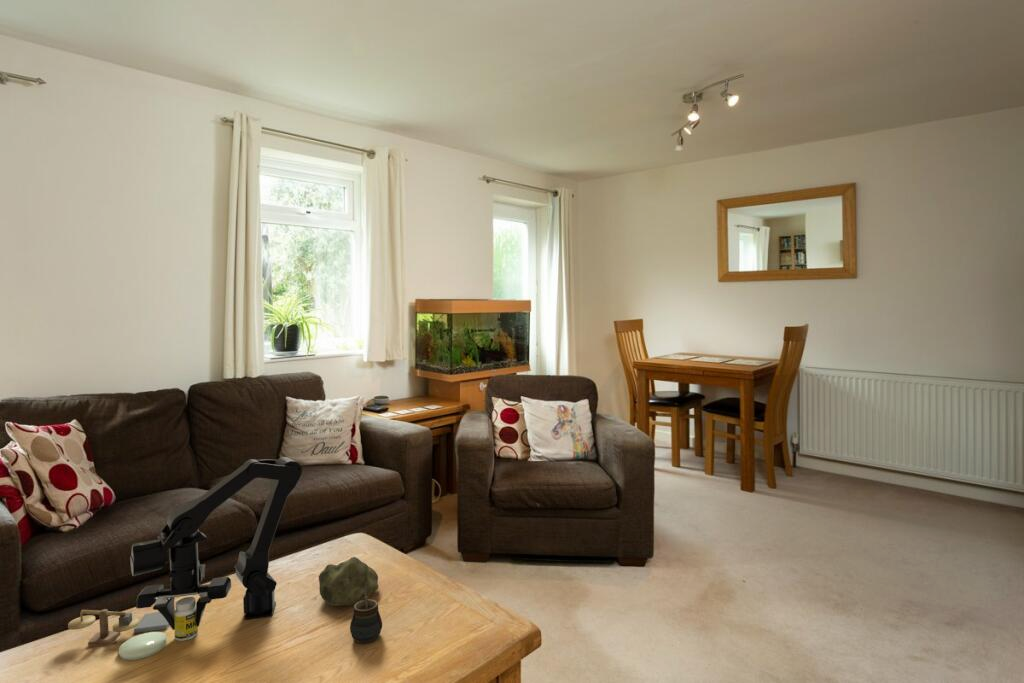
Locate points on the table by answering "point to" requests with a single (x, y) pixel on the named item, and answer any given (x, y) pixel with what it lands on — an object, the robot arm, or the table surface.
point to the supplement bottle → (185, 619)
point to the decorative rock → (347, 582)
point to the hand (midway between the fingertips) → (186, 627)
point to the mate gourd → (365, 621)
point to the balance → (104, 625)
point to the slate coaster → (151, 623)
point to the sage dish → (142, 646)
